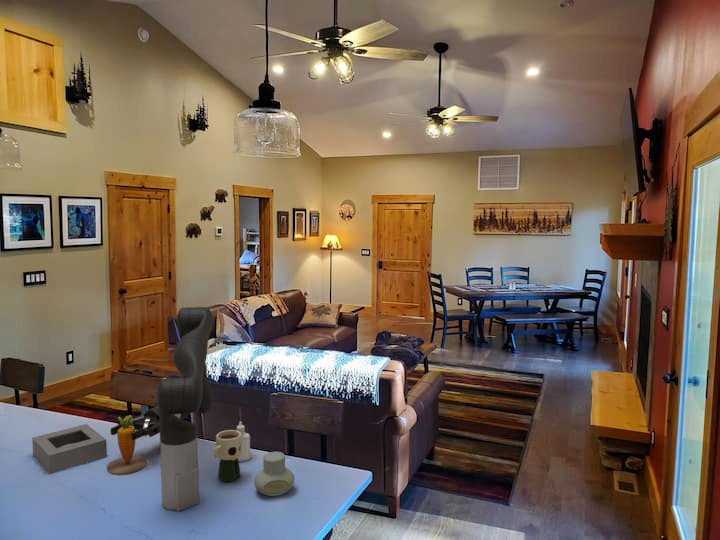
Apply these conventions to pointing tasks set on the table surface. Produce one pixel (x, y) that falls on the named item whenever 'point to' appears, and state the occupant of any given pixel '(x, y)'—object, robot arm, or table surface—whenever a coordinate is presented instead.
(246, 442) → the eye dropper bottle
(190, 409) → the robot arm
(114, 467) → the walnut pad
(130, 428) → the carrot
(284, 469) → the air freshener
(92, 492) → the table surface
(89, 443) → the box
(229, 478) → the character mug
